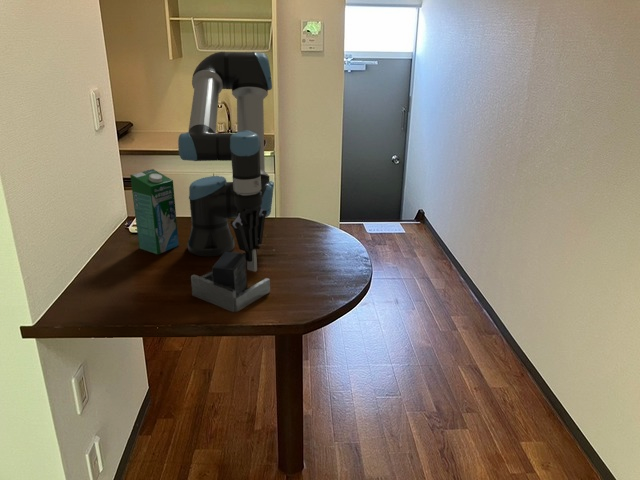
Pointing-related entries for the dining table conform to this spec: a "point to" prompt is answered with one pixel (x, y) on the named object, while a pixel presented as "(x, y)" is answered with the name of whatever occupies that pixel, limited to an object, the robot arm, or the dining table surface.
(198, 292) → the grey u-shaped bracket
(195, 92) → the robot arm
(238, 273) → the small box
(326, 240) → the dining table surface
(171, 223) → the milk carton
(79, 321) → the dining table surface
